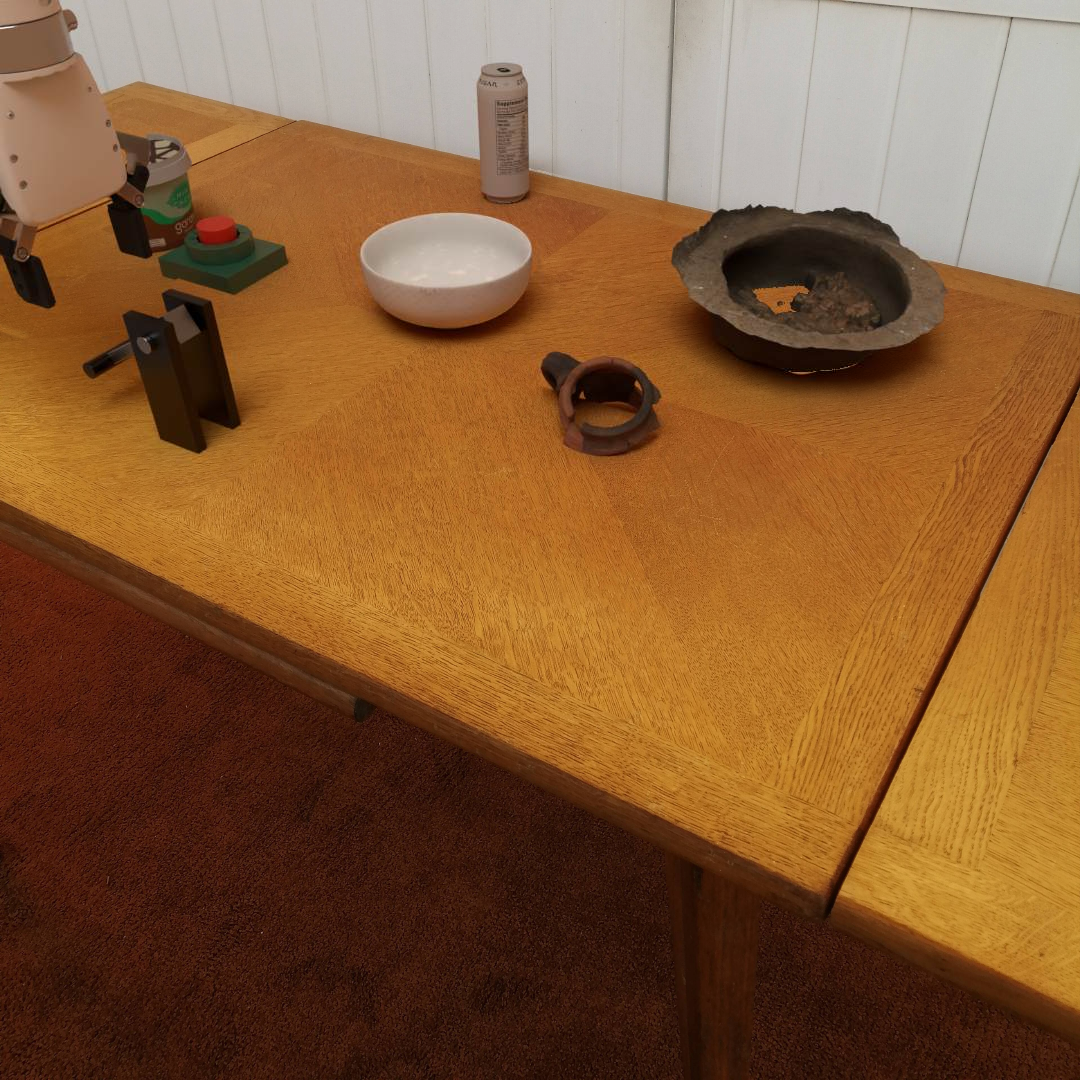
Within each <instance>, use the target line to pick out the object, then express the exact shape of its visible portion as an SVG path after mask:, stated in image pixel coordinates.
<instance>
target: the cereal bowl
mask: <svg viewBox="0 0 1080 1080" xmlns="http://www.w3.org/2000/svg"><path fill="white" fill-rule="evenodd" d="M359 260H360V268H361V270H362V271H361V273H362V276H363V280H364V282H365V285H366V289H368V293H369V294H370V295H371V297H372V299H373V300H375V302H376V303H377V305H379V306H380V308H382V309H383V310H384V311H385V312H387V313H388V314H389V315H392V316H393V317H395V318H397V319H398V320H401V321H404V322H406V323H409V324H412V325H417V326H421V327H426V328H433V329H438V330H457V329H463V328H467V327H470V326H474V325H479V324H482V323H485V322H488V321H490V320H492V319H495V318H497V317H499V316H502V315H503V313H506V312H507V311H508V310H510V309H512V307H513V306H514V305H515V304H516V303H517V302H518V301H519V300H520V299H521V297H522V296H523V295H524V293H525V291H526V289H527V287H528V285H529V282H530V279H531V275H532V274H531V273H532V268H533V247H532V242H531V240H530V238H529V237H528V236H527V235H526V233H524V231H522V230H521V229H519V228H518V227H517V226H515V225H514V224H512V223H509V222H508V221H504V220H501V219H499V218H495V217H492V216H487V215H484V214H479V213H469V212H468V213H467V212H434V213H428V214H427V213H426V214H421V215H415V216H410V217H406V218H402V219H400V220H397V221H394V222H391V223H389V224H387V225H384V226H383V227H380V228H379V229H377V230H376V231H374V232H373V233H371V234H370V235H369V236H368V237H367V238H366V239H365V240H364V241H363V243H362V244H361V247H360V250H359Z"/></svg>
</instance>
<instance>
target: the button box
mask: <svg viewBox="0 0 1080 1080" xmlns="http://www.w3.org/2000/svg"><path fill="white" fill-rule="evenodd" d="M235 226H236V230H237V235H238V238H237V239H236V240H234V241H232V242H229V243H224V244H220V245H206V244H202V243H200V240H199V236H198V232H197V228H196V229H195V230H193V231H191V232H189V233H188V234H187V236H186V237H185V239H184V242H185V244H184V245H182V246H180V247H178V248H175V249H171V250H169V251H167V252H166V253H164V254H163V255H161V256H158V257H157V260H158V264H159V267H160V271H161V275H162V277H164V278H168V279H171V280H174V281H176V280H178V279H179V280H181V281H185V282H189V283H192V284H196V285H198V286H202V287H205V288H208V289H212V290H214V291H215V290H216V291H219V292H222V293H225V294H229V295H233V296H235V295H236V294H238V293H240V292H242V291H244V290H246V289H247V288H248V287H249V288H250V287H251V286H252V285H254V284H256V283H257V282H259V281H261V280H263V279H264V278H266V277H268V276H269V275H271V274H273V273H275V272H276V271H279V270H280V269H282V268H283V267H285V266H287V265H288V263H289V262H288V256H287V252H286V246H285V245H283V244H280V243H276V242H272V241H268V240H265V239H261V238H257V237H254V235H253V232H252V230H251V229H250V228H249V227H248V226H247V225H243V224H239V223H236V222H235Z"/></svg>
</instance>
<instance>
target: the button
mask: <svg viewBox="0 0 1080 1080" xmlns="http://www.w3.org/2000/svg"><path fill="white" fill-rule="evenodd" d="M235 223H236V221H235V220H234V218H232V217H230V216H226V215H215V216H214V215H213V216H209V217H205V218H202V219H201V220H199V221H197V222H196V229H197V232H198V236H199V240H200V243H202V244H206V245H220V244H224V243H229V242H232V241H234V240H236V239H237V238H238V235H237V230H236V226H235Z"/></svg>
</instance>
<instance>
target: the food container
mask: <svg viewBox="0 0 1080 1080" xmlns="http://www.w3.org/2000/svg"><path fill="white" fill-rule="evenodd" d="M145 136H146V137H145V138H147V139H148V140H149V141H150V145H151V146H150V156H149V165H147V168H148V170H149V173H150V176H149V179H148V182H147V185H146V187H145V190H144V193H143V194H144V196H145V199H146V200H145V205H144V206H143V207H142V208H141V212H142V215H143V219H144V222H145V226H146V229H147V233H148V237H149V243H150V247H151V250H152V254H155V253H163V252H169V251H172V250H174V249H176V248H178V247H180V246H182V245H184V244H185V242H184V239H185V237H186V236H187V234H188V233H189V232H191V231H193V230H195V229H197V228H196V224H197V222H196V217H195V216H196V215H195V210H194V204H193V199H192V193H191V192H192V191H191V186H190V180H189V173H188V171H190V169H191V168H192V164H193V162H192V160H191V157H190V155H189V153H188V151H187V149H186V147H185V146H184V145H183V143H182V141H181V140H180V139H179V138H177V137H175V136H172V135H168V134H163V133H153V132H152V133H151V132H149V133H148V132H146V133H145Z"/></svg>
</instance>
